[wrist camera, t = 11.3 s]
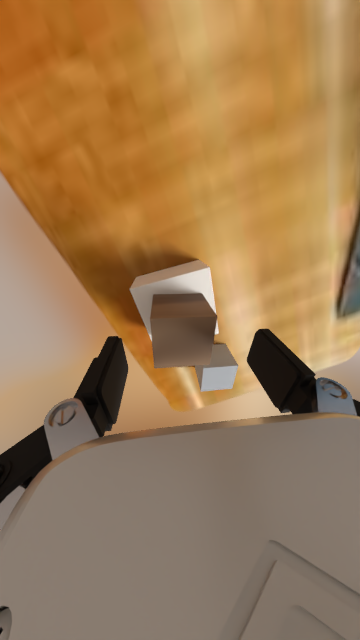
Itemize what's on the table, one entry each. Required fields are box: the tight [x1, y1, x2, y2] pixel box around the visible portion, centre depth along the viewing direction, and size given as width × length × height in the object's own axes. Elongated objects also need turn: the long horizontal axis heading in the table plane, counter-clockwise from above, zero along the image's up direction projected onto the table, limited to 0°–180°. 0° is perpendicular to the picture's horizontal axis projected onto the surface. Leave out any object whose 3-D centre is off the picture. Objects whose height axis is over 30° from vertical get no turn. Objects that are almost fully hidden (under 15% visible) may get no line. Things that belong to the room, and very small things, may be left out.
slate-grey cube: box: [195, 344, 238, 391], centre depth 25 cm, size 5×5×5 cm
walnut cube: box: [150, 293, 217, 368], centre depth 15 cm, size 5×5×5 cm
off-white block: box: [129, 260, 219, 341], centre depth 19 cm, size 8×8×5 cm
